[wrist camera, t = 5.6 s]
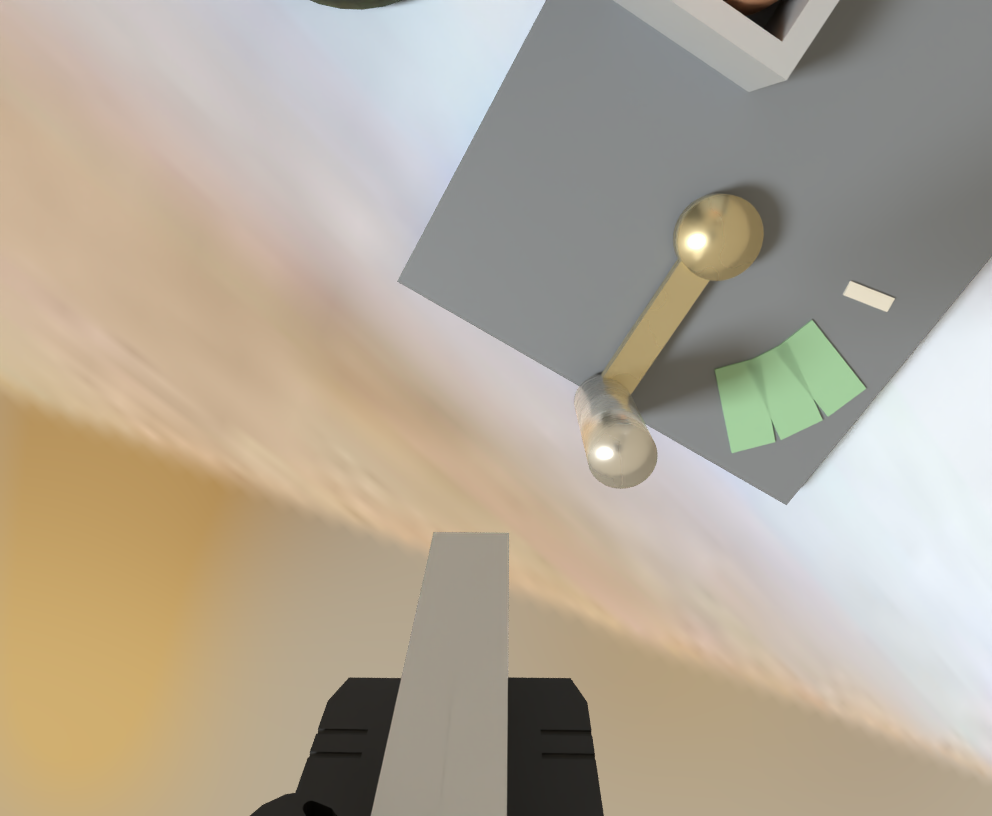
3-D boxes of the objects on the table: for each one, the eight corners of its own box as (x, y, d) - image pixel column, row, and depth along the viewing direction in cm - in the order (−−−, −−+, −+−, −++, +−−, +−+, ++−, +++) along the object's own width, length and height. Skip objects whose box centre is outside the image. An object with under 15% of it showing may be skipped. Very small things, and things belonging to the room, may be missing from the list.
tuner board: (707, -300, 23) (758, -422, 18) (1146, 38, 26) (1288, 10, 21) (401, 277, 29) (379, 298, 25) (777, 493, 32) (821, 549, 27)
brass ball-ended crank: (704, 177, 26) (756, 180, 21) (771, 220, 27) (840, 235, 21) (555, 405, 29) (564, 462, 24) (618, 441, 30) (641, 505, 24)
